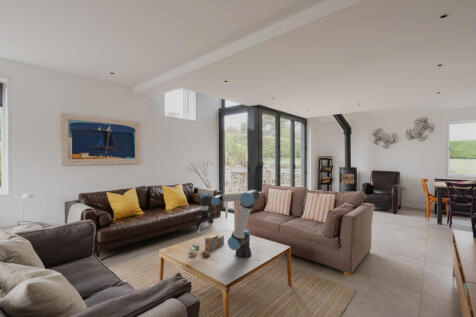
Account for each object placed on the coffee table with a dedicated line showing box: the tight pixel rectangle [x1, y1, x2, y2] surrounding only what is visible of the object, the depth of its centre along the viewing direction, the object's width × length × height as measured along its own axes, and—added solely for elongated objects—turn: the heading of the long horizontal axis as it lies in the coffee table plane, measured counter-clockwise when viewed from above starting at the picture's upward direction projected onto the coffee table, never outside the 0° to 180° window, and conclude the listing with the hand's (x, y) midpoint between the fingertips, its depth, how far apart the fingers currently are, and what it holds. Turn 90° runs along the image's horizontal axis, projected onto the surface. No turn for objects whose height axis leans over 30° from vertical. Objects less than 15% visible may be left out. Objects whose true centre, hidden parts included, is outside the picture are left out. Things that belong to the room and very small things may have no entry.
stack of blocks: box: [204, 233, 225, 252], centre depth 236 cm, size 21×6×12 cm, turn 143°
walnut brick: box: [202, 250, 211, 258], centre depth 215 cm, size 6×4×4 cm, turn 45°
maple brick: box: [189, 250, 198, 258], centre depth 216 cm, size 6×4×4 cm, turn 70°
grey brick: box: [191, 243, 200, 252], centre depth 230 cm, size 6×4×4 cm, turn 55°
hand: (204, 231), depth 224 cm, fingers open, 13 cm apart
